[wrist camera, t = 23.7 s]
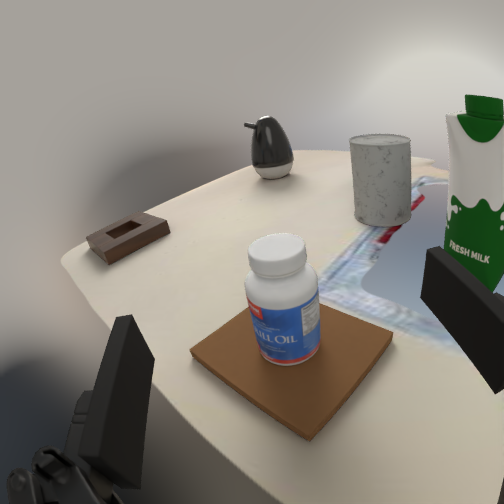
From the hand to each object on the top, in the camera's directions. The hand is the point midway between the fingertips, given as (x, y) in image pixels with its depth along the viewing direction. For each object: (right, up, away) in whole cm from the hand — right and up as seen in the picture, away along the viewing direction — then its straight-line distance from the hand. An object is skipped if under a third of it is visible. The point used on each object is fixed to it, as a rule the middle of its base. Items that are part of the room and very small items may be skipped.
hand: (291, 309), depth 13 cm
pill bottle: (+2, -6, +13) cm, 15 cm away
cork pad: (+2, -7, +14) cm, 15 cm away
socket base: (-26, +5, +44) cm, 51 cm away
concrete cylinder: (+19, +8, +35) cm, 41 cm away
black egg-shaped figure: (+4, +21, +64) cm, 67 cm away
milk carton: (+25, 0, +17) cm, 30 cm away
